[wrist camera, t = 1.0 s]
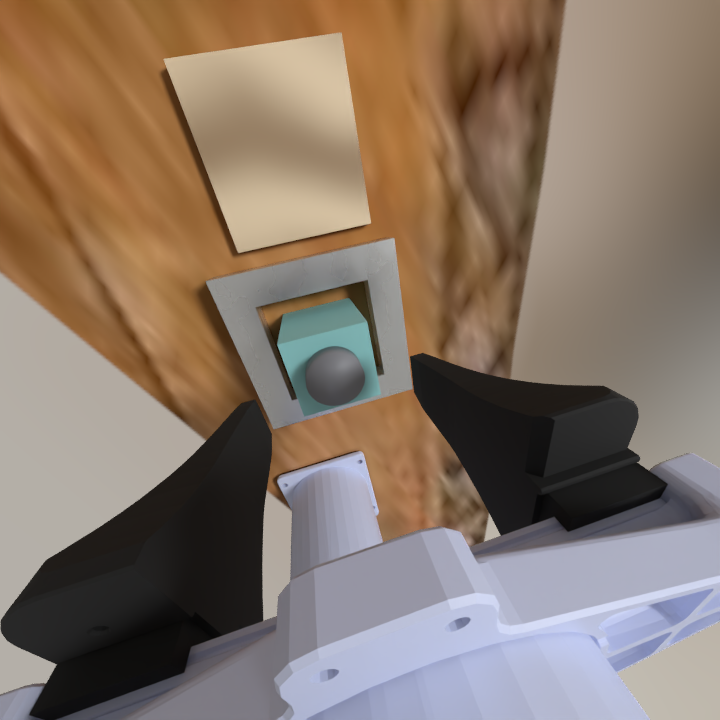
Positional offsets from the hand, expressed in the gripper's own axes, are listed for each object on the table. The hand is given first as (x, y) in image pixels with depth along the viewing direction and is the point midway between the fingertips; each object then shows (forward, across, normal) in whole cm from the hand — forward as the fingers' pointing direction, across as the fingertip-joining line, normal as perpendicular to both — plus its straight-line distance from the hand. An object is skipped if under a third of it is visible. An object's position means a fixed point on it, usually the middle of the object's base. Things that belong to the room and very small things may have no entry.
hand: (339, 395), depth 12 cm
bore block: (+8, 0, 0) cm, 8 cm away
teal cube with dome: (+8, 0, 0) cm, 8 cm away
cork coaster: (+8, 0, -10) cm, 13 cm away
